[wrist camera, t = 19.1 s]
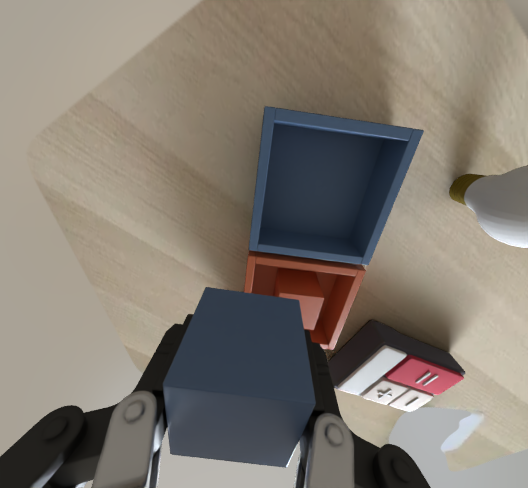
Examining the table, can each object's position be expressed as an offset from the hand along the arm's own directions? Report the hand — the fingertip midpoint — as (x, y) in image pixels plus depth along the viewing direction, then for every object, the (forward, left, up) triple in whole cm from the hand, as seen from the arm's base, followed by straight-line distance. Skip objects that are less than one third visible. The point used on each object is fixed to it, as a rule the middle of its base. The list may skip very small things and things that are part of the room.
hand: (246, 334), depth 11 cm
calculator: (+22, -19, -15) cm, 33 cm away
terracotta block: (+5, -7, -14) cm, 17 cm away
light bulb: (+19, +7, -15) cm, 25 cm away
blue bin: (+5, +5, -15) cm, 16 cm away
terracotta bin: (+5, -7, -15) cm, 17 cm away
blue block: (0, 0, -1) cm, 1 cm away
